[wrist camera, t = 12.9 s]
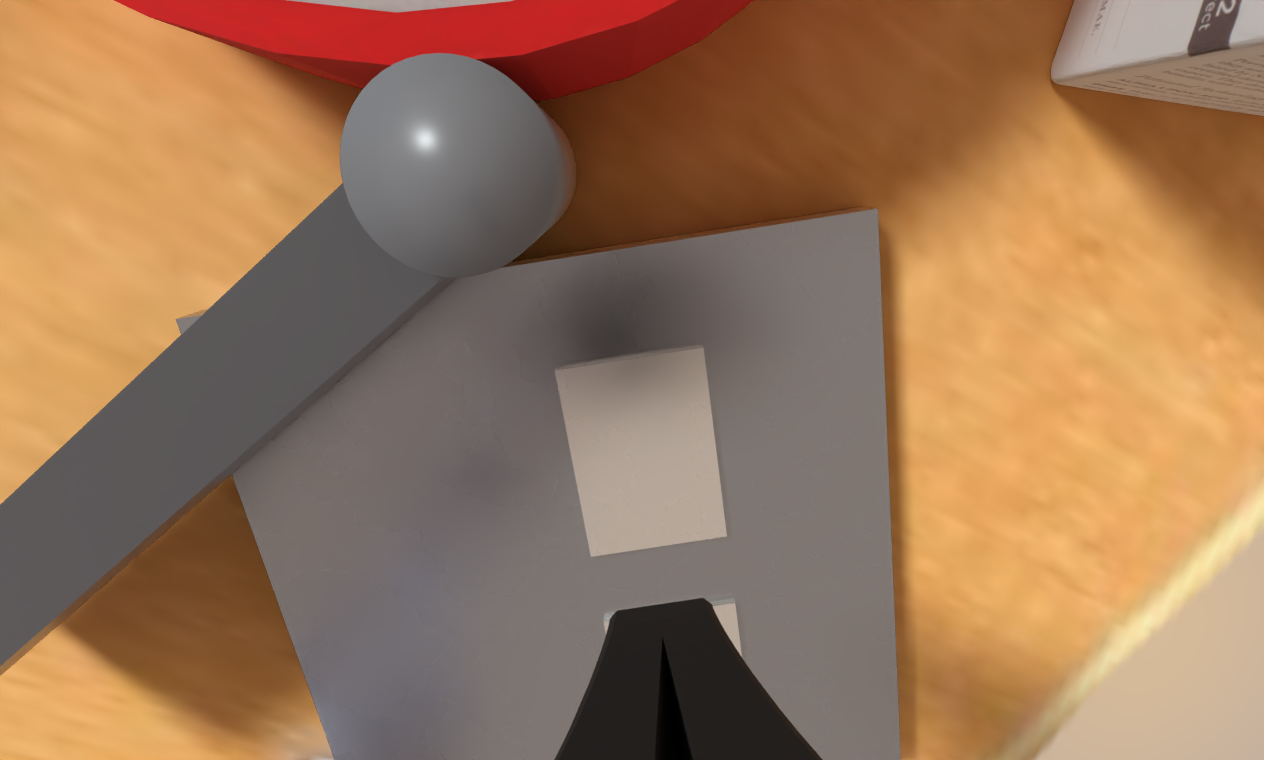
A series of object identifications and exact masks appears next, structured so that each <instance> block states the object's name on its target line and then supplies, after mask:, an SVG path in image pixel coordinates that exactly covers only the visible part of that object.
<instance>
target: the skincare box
mask: <svg viewBox="0 0 1264 760" xmlns="http://www.w3.org/2000/svg"><path fill="white" fill-rule="evenodd" d="M1051 80H1052V81H1053V82H1054V83H1056V84H1059V85H1066V86H1072V87H1078V88H1085V89H1091V90H1097V91H1104V92H1110V93H1116V94H1122V95H1128V96H1135V97H1141V98H1147V99H1153V100H1160V101H1166V102H1173V103H1180V104H1186V105H1193V106H1199V107H1206V108H1212V109H1219V110H1225V111H1232V112H1239V113H1246V114H1252V115H1259V116H1264V0H1074V3H1073V6H1072V8H1071V11H1070V14H1069V17H1068V20H1067V23H1066V26H1065V29H1064V32H1063V35H1062V37H1061V40H1060V43H1059V45H1058V49H1057V52H1056V55H1055V57H1054V60H1053V63H1052V67H1051Z"/></svg>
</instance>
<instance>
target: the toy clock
mask: <svg viewBox="0 0 1264 760" xmlns="http://www.w3.org/2000/svg"><path fill="white" fill-rule="evenodd" d="M115 1H117V2H119V3H121V4H123V5H125V6H127V7H129V8H131V9H133V10H136V11H138V12H140V13H142V14H144V15H146V16H148V17H151V18H154V19H157V20H160V21H162V22H165V23H168V24H171V25H174V26H177V27H179V28H182V29H185V30H188V31H191V32H194V33H196V34H199V35H202V36H205V37H208V38H211V39H214V40H216V41H219V42H222V43H225V44H228V45H231V46H233V47H236V48H239V49H242V50H245V51H248V52H250V53H253V54H256V55H259V56H262V57H265V58H268V59H270V60H273V61H276V62H279V63H282V64H285V65H287V66H290V67H293V68H296V69H299V70H302V71H304V72H307V73H310V74H313V75H316V76H319V77H322V78H326V79H330V80H333V81H337V82H340V83H344V84H347V85H351V86H354V87H358V88H362V89H364V88H365V86H366V85H367V84H368V83H369V82H370V81H371V80H372V79H373V78H374V77H376V76H377V75H378V74H379V73H380V72H382V71H383V70H385V69H386V68H388V67H390V66H391V65H393V64H395V63H397V62H400V61H402V60H404V59H407V58H410V57H414V56H418V55H422V54H432V53H448V54H456V55H461V56H466V57H469V58H472V59H475V60H478V61H481V62H483V63H485V64H487V65H489V66H491V67H494V68H495V69H497V70H498V71H500V72H501V73H503V74H504V75H506V76H507V77H508V78H510V79H511V80H512V81H513V82H514V83H515V84H517V85H518V86H519V87H520V88H521V89H522V90H523V91H524V92H525V93H526V94H527V95H528V96H529V97H530V98H531V99H532V100H533V101H536V100H547V99H555V98H558V97H562V96H565V95H569V94H572V93H576V92H579V91H583V90H586V89H590V88H593V87H597V86H600V85H603V84H607V83H610V82H614V81H617V80H621V79H624V78H628V77H630V76H632V75H634V74H636V73H638V72H640V71H642V70H644V69H646V68H648V67H650V66H652V65H654V64H656V63H658V62H660V61H662V60H664V59H666V58H668V57H670V56H672V55H674V54H676V53H678V52H680V51H681V50H683V49H685V48H687V47H689V46H691V45H693V44H695V43H697V42H699V41H701V40H702V39H703V38H705V37H706V36H707V35H709V34H710V33H711V32H713V31H714V30H715V29H717V28H718V27H719V26H721V25H722V24H723V23H725V22H726V21H727V20H729V19H730V18H731V17H733V16H734V15H735V14H737V13H738V12H739V11H741V10H742V9H743V8H745V7H746V6H747V5H748V4H750V3H751V2H752V1H754V0H115Z"/></svg>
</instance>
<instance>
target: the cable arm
mask: <svg viewBox="0 0 1264 760" xmlns="http://www.w3.org/2000/svg"><path fill="white" fill-rule="evenodd" d="M340 167H341V176H342V180H343V183H342V184H341V185H340V186H339V187H338V188H337V189H336V190H335V191H334V192H333V193H332V194H331V195H330V196H329V197H328V198H326V199H325V200H324V201H323V202H322V203H321V204H320V205H319V206H318V207H317V208H316V209H315V210H314V211H313V212H312V213H310V214H309V215H308V216H307V217H306V218H305V219H304V220H303V221H302V222H301V223H300V224H299V225H298V226H297V227H296V228H295V229H293V230H292V231H291V232H290V233H289V234H288V235H287V236H286V237H285V238H284V239H283V240H282V241H281V242H280V243H279V244H277V245H276V246H275V247H274V248H273V249H272V250H271V251H270V252H269V253H268V254H267V255H266V256H265V257H264V258H263V259H262V260H260V261H259V262H258V263H257V264H256V265H255V266H254V267H253V268H252V269H251V270H250V271H249V272H248V273H247V274H246V275H244V276H243V277H242V278H241V279H240V280H239V281H238V282H237V283H236V284H235V285H234V286H233V287H232V288H231V289H230V290H229V291H227V292H226V293H225V294H224V295H223V296H222V297H221V298H220V299H219V300H218V301H217V302H216V303H215V304H214V305H213V306H211V307H210V308H209V309H208V310H207V311H206V312H205V313H204V314H203V315H202V316H201V317H200V318H199V319H198V320H197V321H196V322H194V323H193V324H192V325H191V326H190V327H189V328H188V329H187V330H186V331H185V332H184V333H183V334H182V335H181V336H180V337H178V338H177V339H176V340H175V341H174V342H173V343H172V344H171V345H170V346H169V347H168V348H167V349H166V350H165V351H164V352H163V353H161V354H160V355H159V356H158V357H157V358H156V359H155V360H154V361H153V362H152V363H151V364H150V365H149V366H148V367H147V368H145V369H144V370H143V371H142V372H141V373H140V374H139V375H138V376H137V377H136V378H135V379H134V380H133V381H132V382H131V383H130V384H128V385H127V386H126V387H125V388H124V389H123V390H122V391H121V392H120V393H119V394H118V395H117V396H116V397H115V398H114V399H112V400H111V401H110V402H109V403H108V404H107V405H106V406H105V407H104V408H103V409H102V410H101V411H100V412H99V413H98V414H97V415H95V416H94V417H93V418H92V419H91V420H90V421H89V422H88V423H87V424H86V425H85V426H84V427H83V428H82V429H81V430H79V431H78V432H77V433H76V434H75V435H74V436H73V437H72V438H71V439H70V440H69V441H68V442H67V443H66V444H65V445H64V446H62V447H61V448H60V449H59V450H58V451H57V452H56V453H55V454H54V455H53V456H52V457H51V458H50V459H49V460H48V461H46V462H45V463H44V464H43V465H42V466H41V467H40V468H39V469H38V470H37V471H36V472H35V473H34V474H33V475H32V476H31V477H29V478H28V479H27V480H26V481H25V482H24V483H23V484H22V485H21V486H20V487H19V488H18V489H17V490H16V491H15V492H14V493H12V494H11V495H10V496H9V497H8V498H7V499H6V500H5V501H4V502H3V503H2V504H1V505H0V675H2V674H3V673H4V672H5V671H6V670H8V669H9V668H10V667H11V666H12V665H13V664H15V663H16V662H17V661H18V660H19V659H20V658H21V657H23V656H24V655H25V654H26V653H27V652H28V651H29V650H31V649H32V648H33V647H34V646H35V645H36V644H37V643H39V642H40V641H41V640H42V639H43V638H44V637H45V636H47V635H48V634H49V633H50V632H51V631H52V630H54V629H55V628H56V627H57V626H58V625H59V624H60V623H62V622H63V621H64V620H65V619H66V618H67V617H68V616H70V615H71V614H72V613H73V612H74V611H75V610H76V609H78V608H79V607H80V606H81V605H82V604H83V603H84V602H86V601H87V600H88V599H89V598H90V597H91V596H92V595H94V594H95V593H96V592H97V591H98V590H99V589H101V588H102V587H103V586H104V585H105V584H106V583H107V582H109V581H110V580H111V579H112V578H113V577H114V576H115V575H117V574H118V573H119V572H120V571H121V570H122V569H123V568H125V567H126V566H127V565H128V564H129V563H130V562H131V561H133V560H134V559H135V558H136V557H137V556H138V555H139V554H141V553H142V552H143V551H144V550H145V549H146V548H148V547H149V546H150V545H151V544H152V543H153V542H154V541H156V540H157V539H158V538H159V537H160V536H161V535H162V534H164V533H165V532H166V531H167V530H168V529H169V528H170V527H172V526H173V525H174V524H175V523H176V522H177V521H178V520H180V519H181V518H182V517H183V516H184V515H185V514H186V513H188V512H189V511H190V510H191V509H192V508H193V507H195V506H196V505H197V504H198V503H199V502H200V501H201V500H203V499H204V498H205V497H206V496H207V495H208V494H209V493H211V492H212V491H213V490H214V489H215V488H216V487H217V486H219V485H220V484H221V483H222V482H223V481H224V480H225V479H227V478H228V477H229V476H230V475H231V474H232V473H233V472H235V471H236V470H237V469H238V468H239V467H240V466H242V465H243V464H244V463H245V462H246V461H247V460H248V459H250V458H251V457H252V456H253V455H254V454H255V453H256V452H258V451H259V450H260V449H261V448H262V447H263V446H264V445H266V444H267V443H268V442H269V441H270V440H271V439H272V438H274V437H275V436H276V435H277V434H278V433H279V432H280V431H282V430H283V429H284V428H285V427H286V426H287V425H288V424H290V423H291V422H292V421H293V420H294V419H295V418H297V417H298V416H299V415H300V414H301V413H302V412H303V411H305V410H306V409H307V408H308V407H309V406H310V405H311V404H313V403H314V402H315V401H316V400H317V399H318V398H319V397H321V396H322V395H323V394H324V393H325V392H326V391H327V390H329V389H330V388H331V387H332V386H333V385H334V384H335V383H337V382H338V381H339V380H340V379H341V378H342V377H344V376H345V375H346V374H347V373H348V372H349V371H350V370H352V369H353V368H354V367H355V366H356V365H357V364H358V363H360V362H361V361H362V360H363V359H364V358H365V357H366V356H368V355H369V354H370V353H371V352H372V351H373V350H374V349H376V348H377V347H378V346H379V345H380V344H381V343H382V342H384V341H385V340H386V339H387V338H388V337H389V336H391V335H392V334H393V333H394V332H395V331H396V330H397V329H399V328H400V327H401V326H402V325H403V324H404V323H405V322H407V321H408V320H409V319H410V318H411V317H412V316H413V315H415V314H416V313H417V312H418V311H419V310H420V309H421V308H423V307H424V306H425V305H426V304H427V303H428V302H429V301H431V300H432V299H433V298H434V297H435V296H436V295H438V294H439V293H440V292H441V291H442V290H443V289H444V288H446V287H447V286H448V285H449V284H450V283H451V282H452V281H454V280H455V279H456V278H461V277H471V276H477V275H481V274H485V273H488V272H491V271H493V270H496V269H499V268H501V267H502V266H504V265H506V264H508V263H510V262H511V261H512V260H514V259H515V258H516V257H518V256H519V255H520V254H522V253H523V252H524V251H525V250H526V249H527V248H528V247H530V246H531V245H532V244H533V243H534V242H535V241H536V240H538V239H539V238H540V237H541V236H542V235H543V234H544V233H546V232H547V231H548V230H549V229H550V228H551V227H552V226H553V225H555V224H556V223H557V222H558V221H559V220H560V219H561V217H562V216H563V215H564V213H565V212H566V210H567V209H568V207H569V205H570V203H571V201H572V198H573V195H574V192H575V188H576V180H577V168H576V160H575V156H574V152H573V150H572V147H571V144H570V142H569V140H568V138H567V136H566V135H565V133H564V132H563V130H562V129H561V128H560V126H559V125H558V124H557V123H556V122H555V121H554V120H553V119H552V118H551V117H550V116H549V115H548V114H547V113H546V112H545V111H544V110H543V109H542V108H541V107H540V106H539V105H538V104H536V103H535V102H534V101H533V100H532V99H531V98H530V97H529V96H528V95H527V94H526V93H525V92H524V91H523V90H522V89H521V88H520V87H519V86H518V85H517V84H515V83H514V82H513V81H512V80H511V79H510V78H508V77H507V76H506V75H504V74H503V73H501V72H500V71H498V70H497V69H495V68H494V67H491V66H489V65H487V64H485V63H483V62H481V61H478V60H475V59H472V58H469V57H466V56H461V55H456V54H448V53H432V54H422V55H418V56H414V57H410V58H407V59H404V60H402V61H400V62H397V63H395V64H393V65H391V66H390V67H388V68H386V69H385V70H383V71H382V72H380V73H379V74H378V75H377V76H376V77H374V78H373V79H372V80H371V81H370V82H369V83H368V84H367V85H366V86H365V88H364V89H363V90H362V91H361V92H360V94H359V95H358V97H357V98H356V100H355V101H354V103H353V105H352V107H351V109H350V111H349V114H348V116H347V119H346V122H345V125H344V128H343V132H342V138H341V144H340Z"/></svg>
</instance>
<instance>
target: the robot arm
mask: <svg viewBox="0 0 1264 760" xmlns="http://www.w3.org/2000/svg"><path fill="white" fill-rule="evenodd" d="M554 760H823V759H822V758H821V757H820V756H819V755H818V754H817V752H816V751H815V750H814V749H813V748H812V747H811V746H810V744H809V743H808V742H807V741H806V740H805V739H804V737H803V736H802V735H801V734H800V733H799V732H798V731H797V729H796V728H795V727H794V726H793V724H792V723H791V722H790V721H789V720H788V718H787V717H786V716H785V715H784V713H783V712H782V711H781V710H780V708H779V707H778V706H777V704H776V703H775V702H774V701H773V699H772V698H771V697H770V695H769V694H768V693H767V691H766V690H765V689H764V687H763V686H762V685H761V683H760V682H759V681H758V679H757V678H756V677H755V675H754V674H753V673H752V671H751V670H750V668H749V667H748V666H747V664H746V663H745V661H744V660H743V658H742V657H741V655H740V654H739V652H738V651H737V649H736V648H735V646H734V645H733V643H732V641H731V640H730V638H729V637H728V635H727V633H726V632H725V630H724V628H723V626H722V625H721V623H720V621H719V619H718V617H717V615H716V613H715V611H714V609H713V606H712V604H711V603H710V602H708V601H707V600H705V599H704V598H698V599H691V600H684V601H678V602H671V603H664V604H658V605H651V606H644V607H637V608H631V609H624V610H617V611H616V612H615V613H614V615H613V616H612V617H611V618H610V621H609V626H608V630H607V633H606V637H605V640H604V643H603V646H602V649H601V652H600V655H599V658H598V661H597V663H596V666H595V669H594V671H593V674H592V677H591V679H590V682H589V685H588V687H587V689H586V692H585V694H584V696H583V699H582V701H581V703H580V706H579V708H578V710H577V713H576V715H575V717H574V720H573V722H572V724H571V727H570V729H569V731H568V733H567V735H566V737H565V739H564V742H563V743H562V745H561V747H560V749H559V751H558V753H557V755H556V757H555V759H554Z"/></svg>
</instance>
